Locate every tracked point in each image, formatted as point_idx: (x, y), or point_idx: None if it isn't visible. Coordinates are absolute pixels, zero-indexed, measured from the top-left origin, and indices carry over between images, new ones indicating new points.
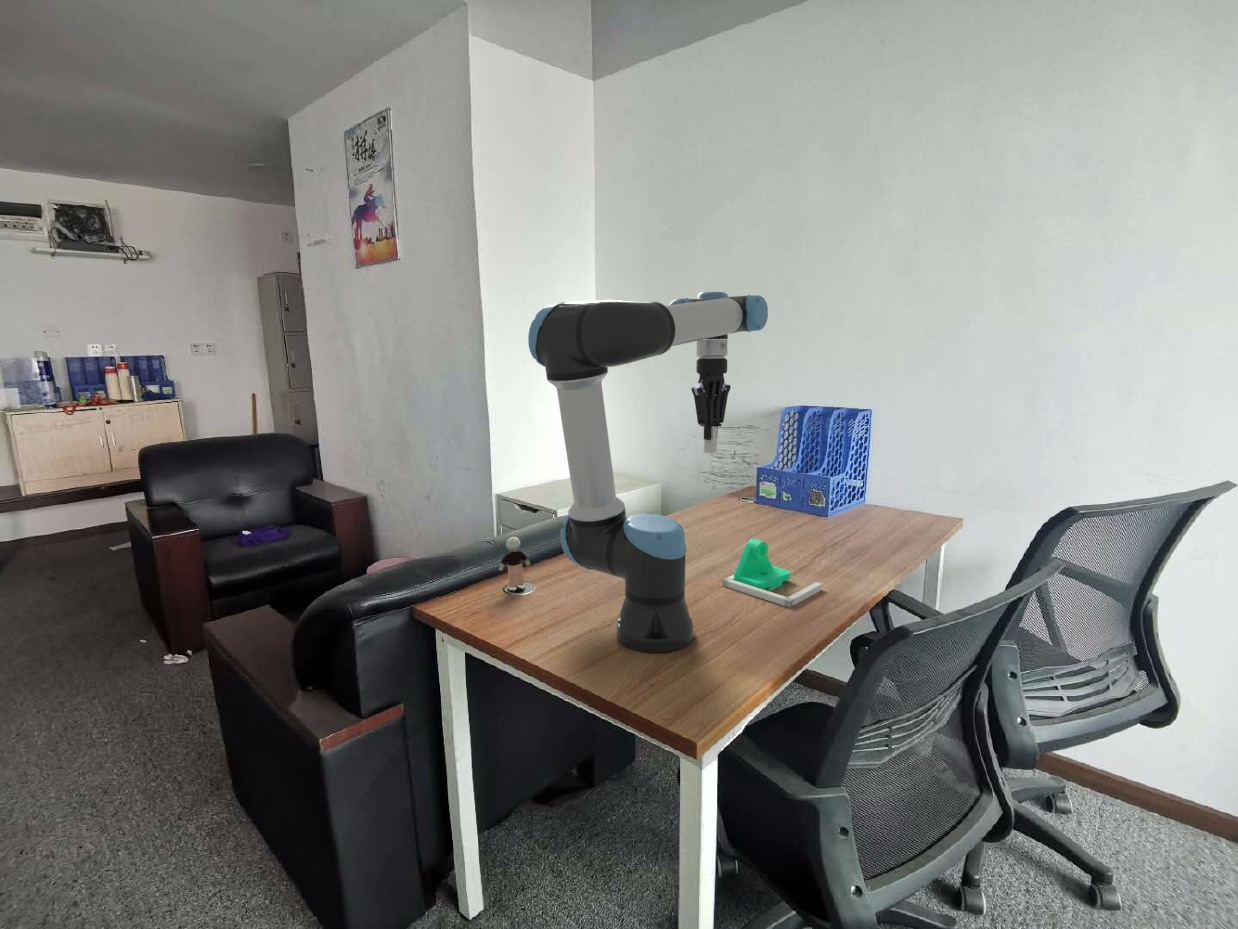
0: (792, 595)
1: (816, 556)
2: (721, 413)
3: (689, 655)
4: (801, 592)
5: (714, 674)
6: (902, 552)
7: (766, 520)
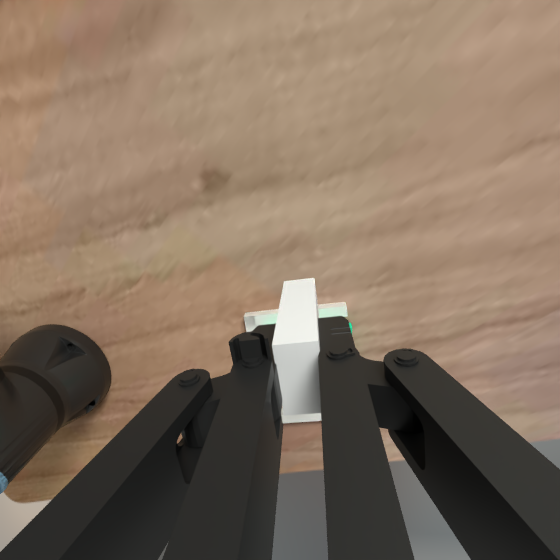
0: (283, 416)
1: (499, 322)
2: (421, 480)
3: (76, 422)
4: (302, 418)
5: (78, 458)
6: None
7: None
